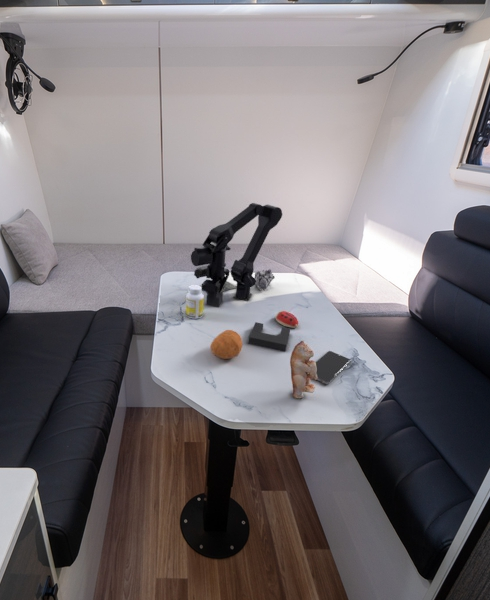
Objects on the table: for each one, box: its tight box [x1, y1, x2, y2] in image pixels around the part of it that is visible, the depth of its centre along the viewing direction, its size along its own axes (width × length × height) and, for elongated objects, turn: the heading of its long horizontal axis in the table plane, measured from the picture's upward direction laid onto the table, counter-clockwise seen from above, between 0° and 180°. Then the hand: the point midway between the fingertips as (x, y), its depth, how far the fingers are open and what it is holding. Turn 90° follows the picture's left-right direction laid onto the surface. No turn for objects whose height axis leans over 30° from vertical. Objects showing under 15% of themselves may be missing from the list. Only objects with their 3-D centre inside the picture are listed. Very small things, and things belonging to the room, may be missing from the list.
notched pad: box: [247, 321, 291, 352], centre depth 125 cm, size 11×12×2 cm
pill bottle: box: [185, 284, 205, 320], centre depth 138 cm, size 6×6×12 cm
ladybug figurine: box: [275, 310, 299, 329], centre depth 135 cm, size 7×10×4 cm
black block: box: [205, 292, 224, 308], centre depth 149 cm, size 5×5×4 cm
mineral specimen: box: [253, 268, 275, 291], centre depth 164 cm, size 12×9×10 cm
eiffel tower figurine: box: [200, 281, 237, 293], centre depth 161 cm, size 15×10×13 cm
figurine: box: [289, 340, 317, 399], centre depth 98 cm, size 6×8×15 cm
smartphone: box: [314, 350, 352, 385], centre depth 111 cm, size 7×1×16 cm
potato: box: [210, 329, 243, 360], centre depth 115 cm, size 9×11×8 cm
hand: (214, 298), depth 149 cm, fingers open, 9 cm apart
